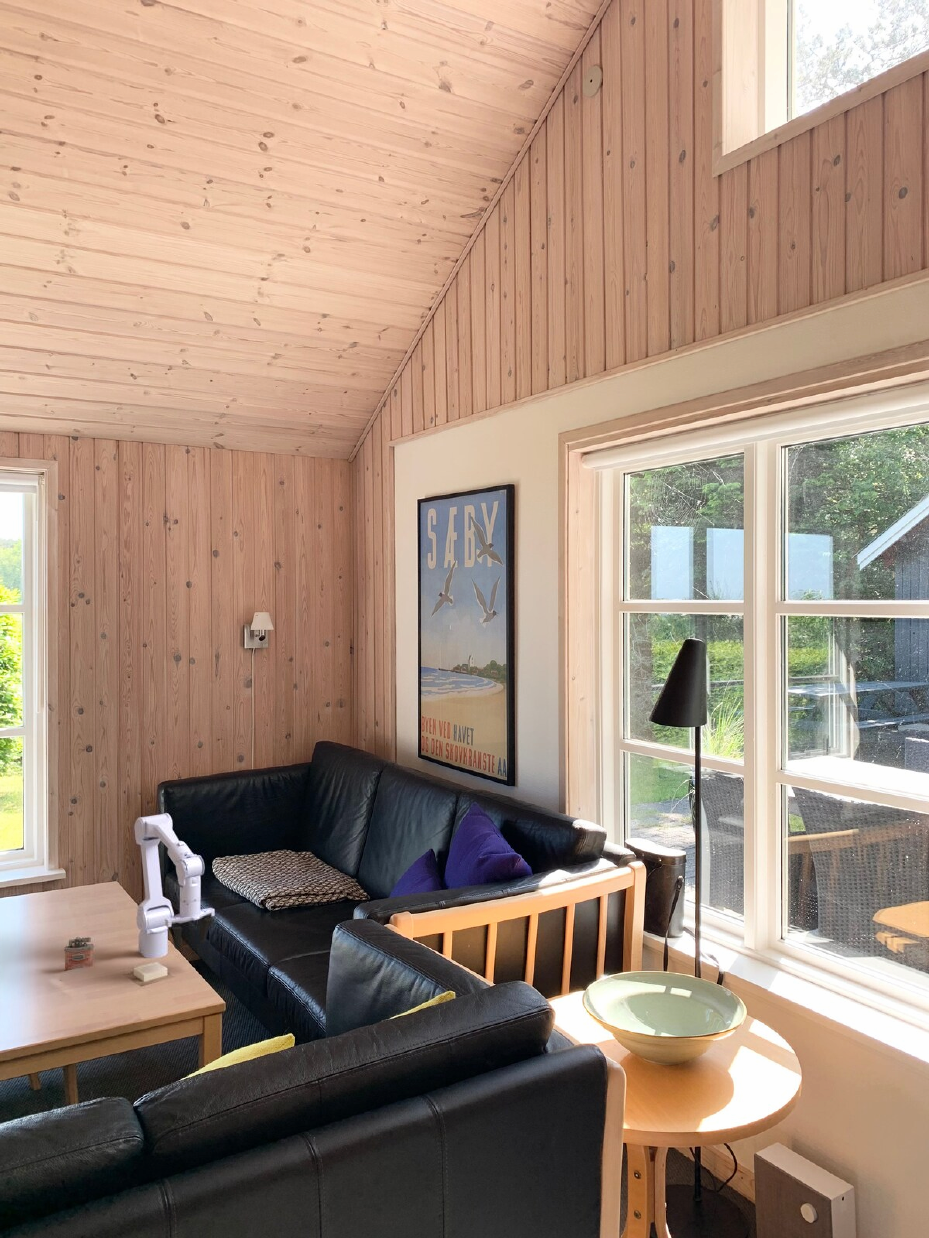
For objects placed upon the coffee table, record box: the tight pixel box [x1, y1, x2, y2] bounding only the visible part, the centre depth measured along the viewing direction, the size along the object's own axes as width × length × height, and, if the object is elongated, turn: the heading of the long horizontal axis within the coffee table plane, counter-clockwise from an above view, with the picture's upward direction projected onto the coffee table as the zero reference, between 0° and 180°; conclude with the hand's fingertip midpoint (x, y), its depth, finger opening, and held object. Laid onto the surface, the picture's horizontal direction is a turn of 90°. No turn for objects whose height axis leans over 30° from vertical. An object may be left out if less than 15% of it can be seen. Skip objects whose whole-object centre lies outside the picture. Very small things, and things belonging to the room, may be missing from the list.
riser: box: [123, 970, 175, 987], centre depth 269 cm, size 12×10×2 cm
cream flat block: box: [133, 961, 168, 982], centre depth 269 cm, size 7×7×2 cm
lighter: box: [63, 936, 94, 972], centre depth 276 cm, size 8×3×10 cm, turn 105°
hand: (190, 945), depth 269 cm, fingers open, 7 cm apart
